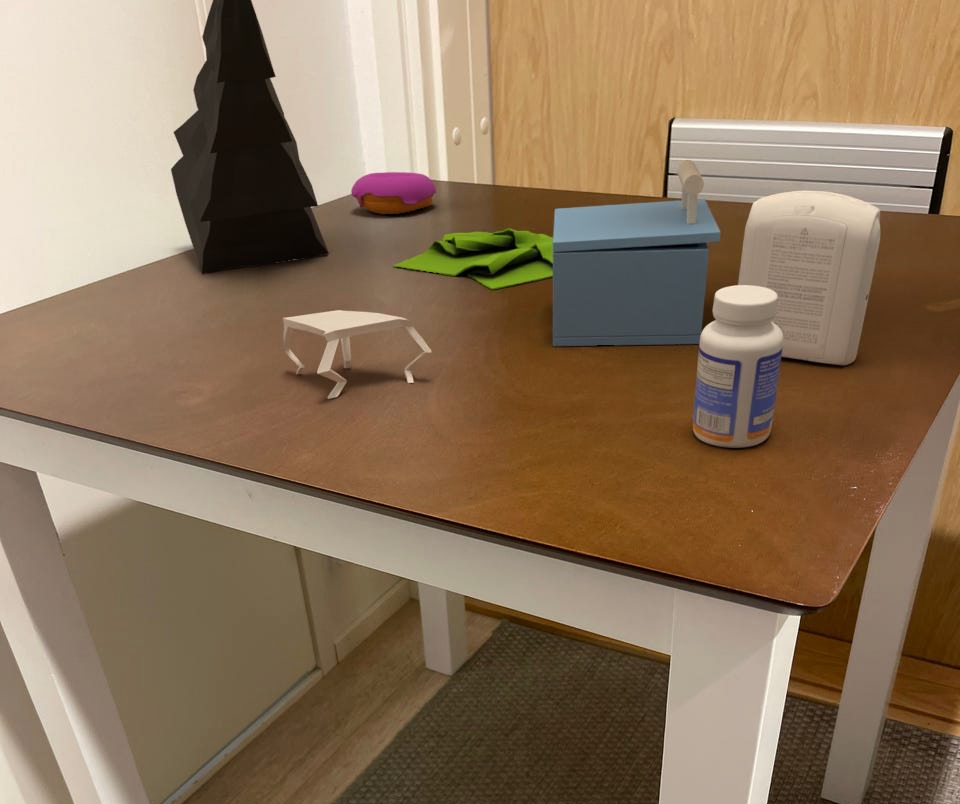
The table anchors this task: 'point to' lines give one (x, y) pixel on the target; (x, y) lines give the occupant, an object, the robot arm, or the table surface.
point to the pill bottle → (738, 368)
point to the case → (629, 295)
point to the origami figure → (346, 337)
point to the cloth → (489, 257)
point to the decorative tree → (242, 155)
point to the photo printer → (814, 269)
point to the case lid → (639, 221)
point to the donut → (393, 192)
